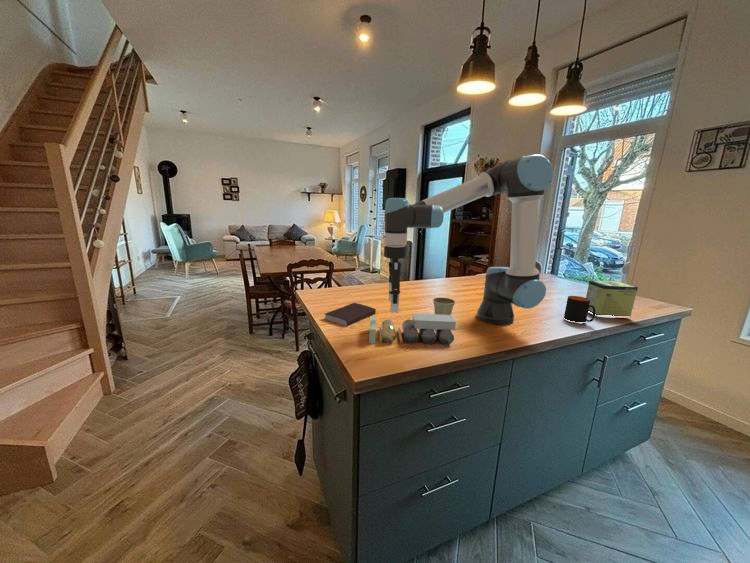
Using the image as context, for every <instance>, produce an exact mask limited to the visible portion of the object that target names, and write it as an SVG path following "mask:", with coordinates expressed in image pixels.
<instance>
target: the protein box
mask: <svg viewBox="0 0 750 563" xmlns="http://www.w3.org/2000/svg"><path fill="white" fill-rule="evenodd" d="M638 287H639V286H635V285H632V284H629V283H626V282H622V281H610V280H609V281H608V280H607V281H606V280H605V281H604V280H589V281H588V286H587V290H586V295H585V298H588V299H590V304H589V305H592V306H594V308H595V310H596V312H595V314H596V315H612V316H613V315H614V316H630V317H631V316H632V312H633V308H634V305H635V301H636V300H635V299H636V295H637V292H638V289H639V288H638ZM588 311H590V312H592V313H593V308H592V307H589V309H588Z"/></svg>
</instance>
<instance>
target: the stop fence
mask: <svg viewBox="0 0 750 563" xmlns="http://www.w3.org/2000/svg"><path fill="white" fill-rule="evenodd" d="M376 321H377V319H376V317H375V316H370V317H369V338H368V343H369V344H376V329H377V328H376V327H377V323H376Z"/></svg>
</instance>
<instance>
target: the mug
mask: <svg viewBox="0 0 750 563" xmlns="http://www.w3.org/2000/svg"><path fill="white" fill-rule="evenodd" d="M566 300H567V301H566V304H565V311H564V313H563V314H564V316H563V319H564V318H565V319H567V320H570V321H575V322H586V323H587V322H588V323H590V322H591V323H592V322H593V321H594V320H595V318H596V317H595V312H596V310H595V308H594V306H592V305H589V304H590V299H588V298H586V297H585V296H584V297H583V296H579V295H568V296H567V298H566ZM589 307H592V308H593V315H591V318H590V319H588V318H587V317H588V314H589V313H588V309H589Z"/></svg>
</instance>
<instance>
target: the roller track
mask: <svg viewBox="0 0 750 563" xmlns="http://www.w3.org/2000/svg"><path fill="white" fill-rule="evenodd" d="M401 327H402V328H400V327H398V328H397V332H398V339H399V344H400V345H402V344H404V342H403V338H404V340H405V342H407V343H408V344H410V345H411V344H416V343H417V342H418V341H419V339H420V337H421V339H422V343H424V344H426V345H432V344H434V343H435V342H436V341H437V338H438V340H439V342H440V343H441V344H442V345H444V346H445V345H446V346H448V345H450V344H452V343H453V342H454V340H455V337H454V333H453V332H452V330H441V329H416V328H414V325H413V322H412V319H406V320H404V321H403V322H402V324H401ZM401 329H402V331H401ZM378 331H379V334H378V335H379V344H382V343H383V339H382V327H379V330H378ZM402 333H403V335H402Z"/></svg>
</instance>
